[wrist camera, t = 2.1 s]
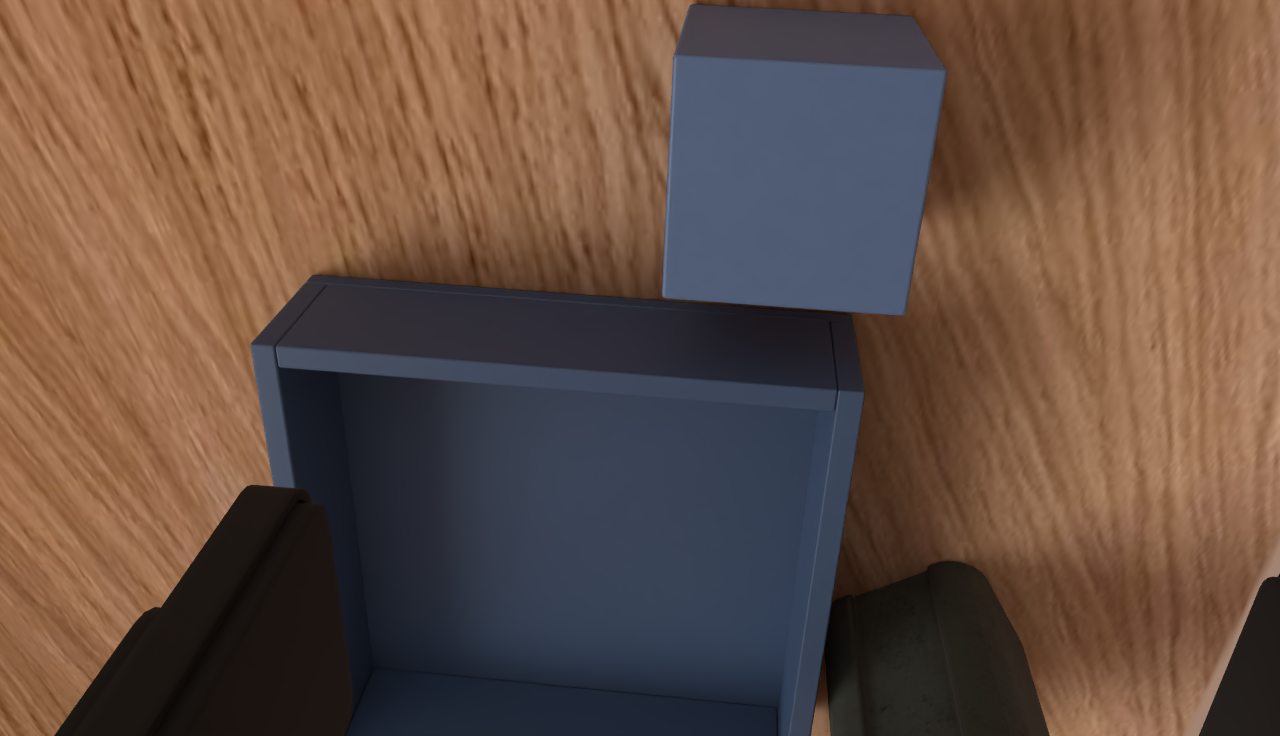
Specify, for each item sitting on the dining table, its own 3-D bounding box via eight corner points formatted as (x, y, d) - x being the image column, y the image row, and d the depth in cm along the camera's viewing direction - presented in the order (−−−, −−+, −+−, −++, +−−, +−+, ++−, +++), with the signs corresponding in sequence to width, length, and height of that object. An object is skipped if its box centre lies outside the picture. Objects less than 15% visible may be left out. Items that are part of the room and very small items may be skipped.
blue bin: (852, 313, 27) (865, 392, 24) (794, 710, 34) (797, 816, 31) (312, 274, 28) (248, 344, 25) (362, 667, 35) (318, 764, 32)
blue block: (914, 15, 24) (948, 70, 19) (881, 226, 26) (906, 317, 22) (689, 3, 24) (673, 54, 20) (677, 213, 26) (661, 299, 22)
